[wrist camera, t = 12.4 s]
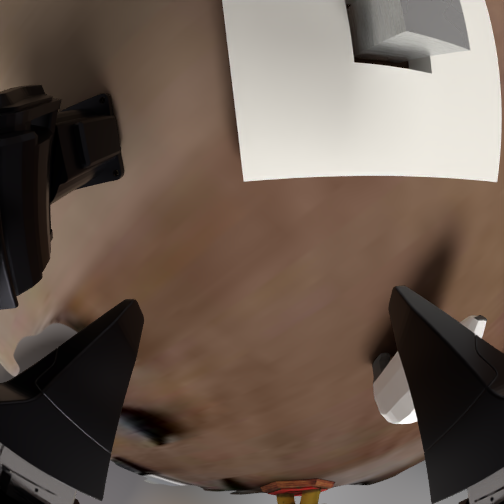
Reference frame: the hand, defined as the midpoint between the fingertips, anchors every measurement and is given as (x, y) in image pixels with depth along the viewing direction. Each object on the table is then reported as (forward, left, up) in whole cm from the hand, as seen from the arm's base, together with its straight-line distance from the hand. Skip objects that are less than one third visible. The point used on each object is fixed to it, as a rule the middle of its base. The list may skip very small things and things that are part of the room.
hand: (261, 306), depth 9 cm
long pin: (+8, +11, -11) cm, 17 cm away
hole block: (+8, +11, -11) cm, 17 cm away
